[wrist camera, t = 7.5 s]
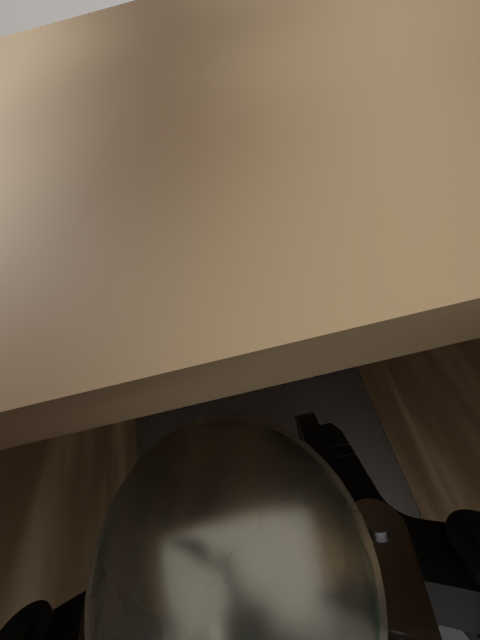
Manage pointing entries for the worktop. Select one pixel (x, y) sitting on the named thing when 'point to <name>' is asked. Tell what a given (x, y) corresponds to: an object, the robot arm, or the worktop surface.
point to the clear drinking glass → (234, 544)
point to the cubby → (230, 242)
